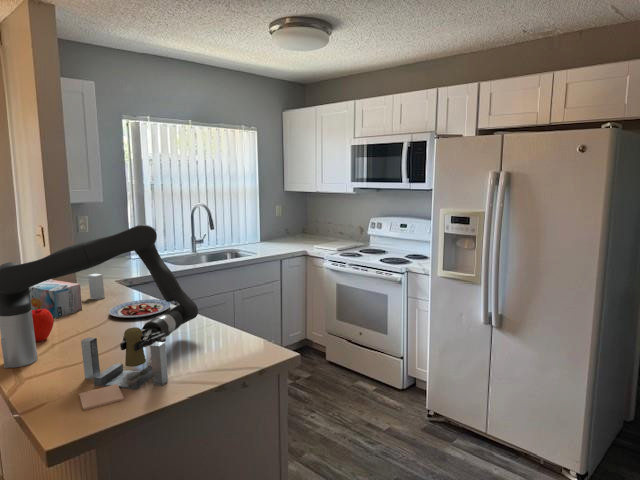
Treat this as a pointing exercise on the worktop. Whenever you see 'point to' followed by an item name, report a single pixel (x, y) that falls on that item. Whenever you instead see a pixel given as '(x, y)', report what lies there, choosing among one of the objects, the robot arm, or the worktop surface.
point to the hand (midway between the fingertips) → (128, 347)
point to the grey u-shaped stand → (116, 371)
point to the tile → (100, 397)
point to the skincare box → (96, 286)
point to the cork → (133, 356)
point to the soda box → (56, 297)
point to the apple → (42, 323)
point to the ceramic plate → (139, 308)
